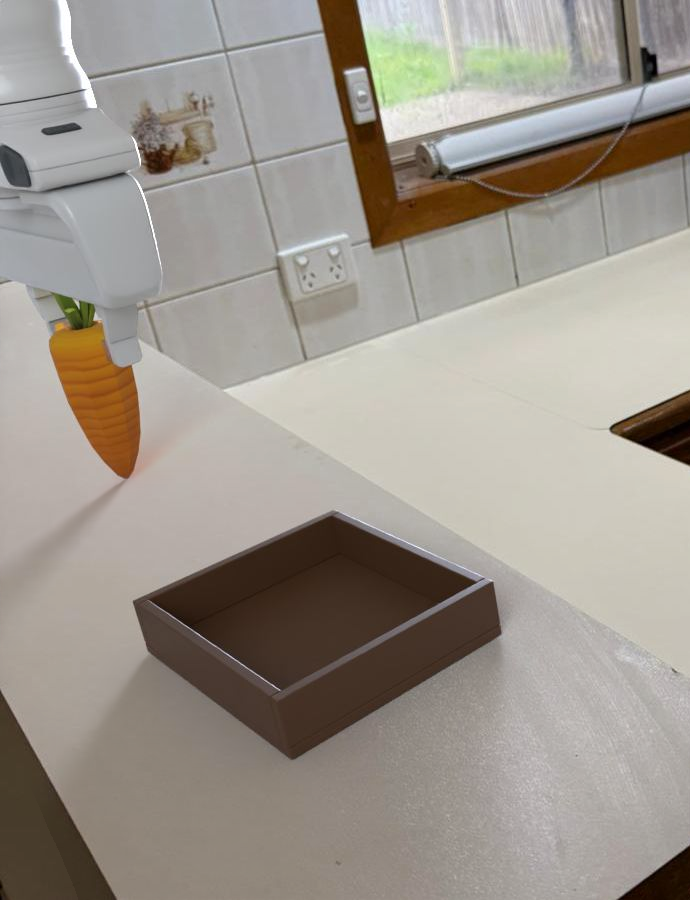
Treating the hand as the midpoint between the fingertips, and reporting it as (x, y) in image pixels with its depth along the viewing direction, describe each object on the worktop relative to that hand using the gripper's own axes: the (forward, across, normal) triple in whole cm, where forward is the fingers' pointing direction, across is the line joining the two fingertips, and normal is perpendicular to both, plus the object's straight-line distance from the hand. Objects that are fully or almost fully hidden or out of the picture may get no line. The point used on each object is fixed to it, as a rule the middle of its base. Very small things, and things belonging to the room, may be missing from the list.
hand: (96, 352), depth 77 cm
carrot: (+10, 0, 0) cm, 10 cm away
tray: (+10, +31, -4) cm, 32 cm away
